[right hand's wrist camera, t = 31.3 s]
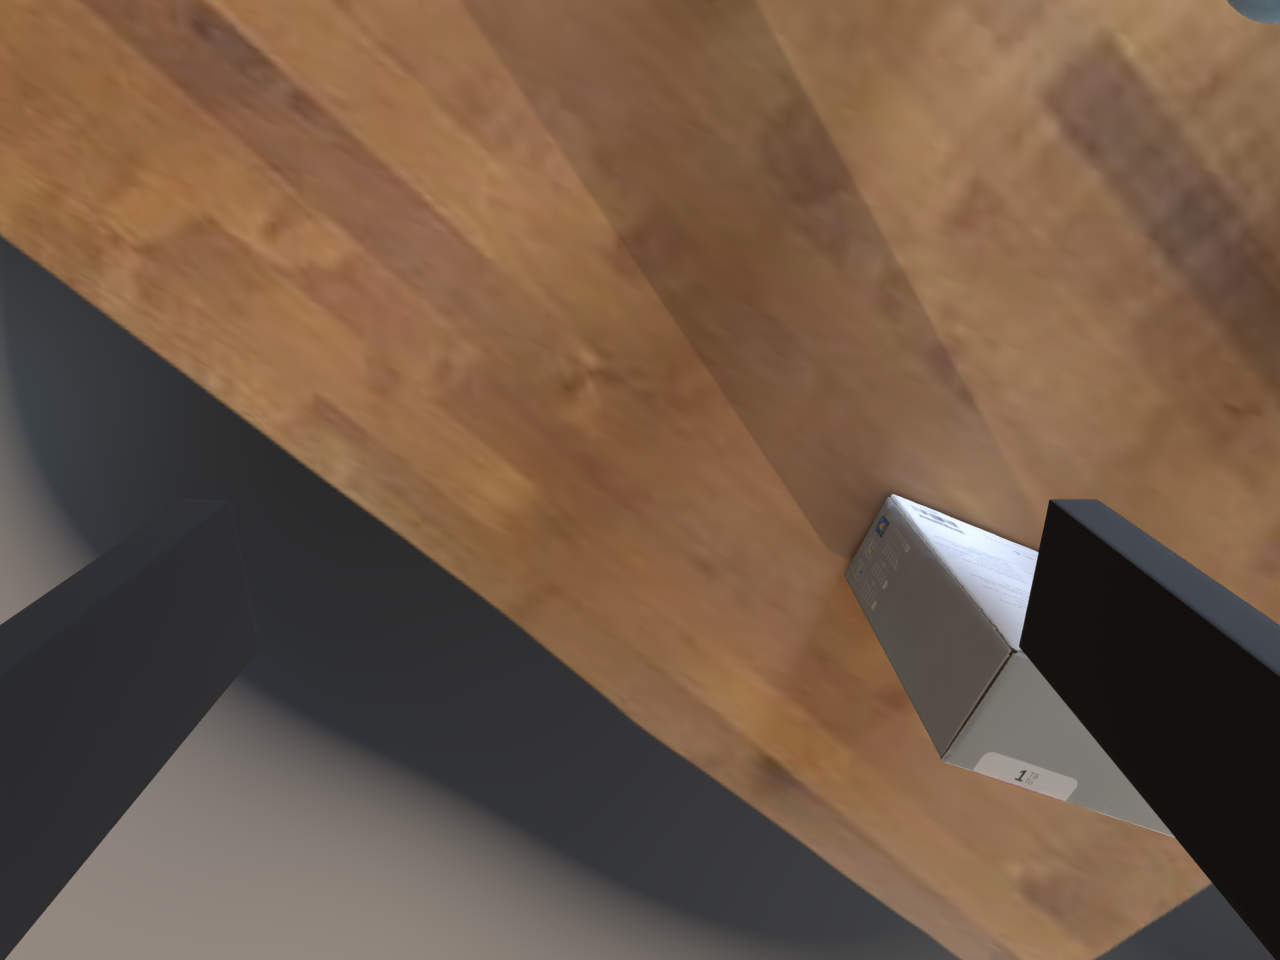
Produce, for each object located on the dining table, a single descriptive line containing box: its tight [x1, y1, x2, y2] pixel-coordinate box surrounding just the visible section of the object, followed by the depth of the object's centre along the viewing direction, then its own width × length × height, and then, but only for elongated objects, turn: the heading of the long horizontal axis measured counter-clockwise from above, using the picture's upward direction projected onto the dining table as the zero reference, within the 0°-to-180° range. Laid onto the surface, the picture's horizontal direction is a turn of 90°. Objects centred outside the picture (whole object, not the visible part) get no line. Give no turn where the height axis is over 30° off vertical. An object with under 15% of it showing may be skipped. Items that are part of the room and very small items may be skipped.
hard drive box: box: [845, 494, 1175, 838], centre depth 49 cm, size 16×8×20 cm, turn 68°
